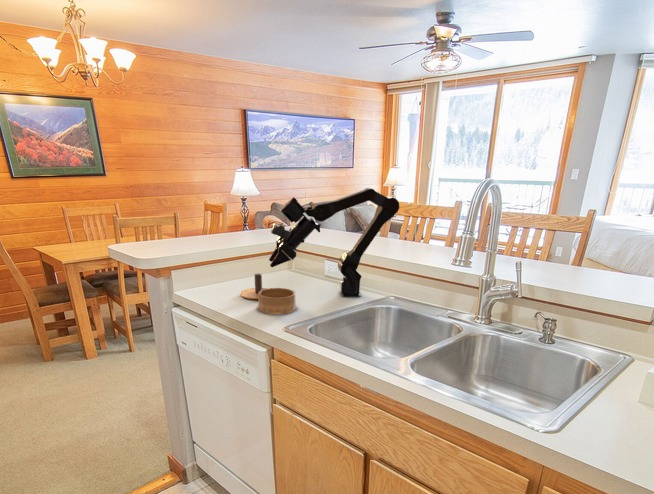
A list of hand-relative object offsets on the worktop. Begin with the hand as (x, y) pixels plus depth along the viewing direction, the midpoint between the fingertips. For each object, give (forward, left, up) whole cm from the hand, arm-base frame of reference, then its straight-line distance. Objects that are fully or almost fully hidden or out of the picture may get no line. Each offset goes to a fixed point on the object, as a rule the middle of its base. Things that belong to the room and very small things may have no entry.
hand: (270, 263), depth 159 cm
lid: (+5, 0, -11) cm, 12 cm away
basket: (-2, +15, -12) cm, 20 cm away
